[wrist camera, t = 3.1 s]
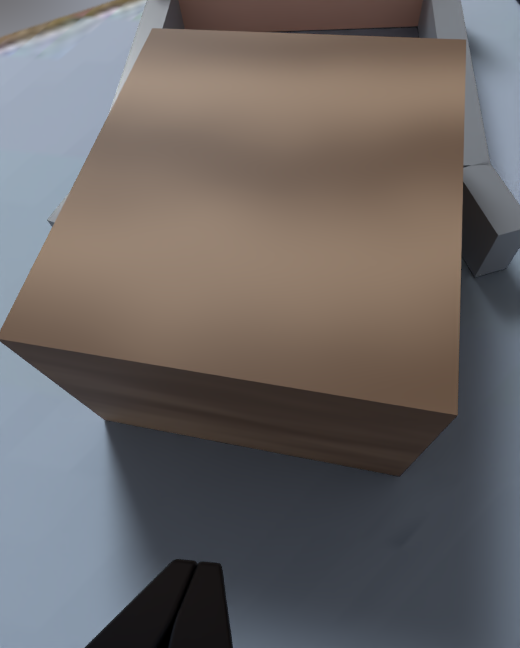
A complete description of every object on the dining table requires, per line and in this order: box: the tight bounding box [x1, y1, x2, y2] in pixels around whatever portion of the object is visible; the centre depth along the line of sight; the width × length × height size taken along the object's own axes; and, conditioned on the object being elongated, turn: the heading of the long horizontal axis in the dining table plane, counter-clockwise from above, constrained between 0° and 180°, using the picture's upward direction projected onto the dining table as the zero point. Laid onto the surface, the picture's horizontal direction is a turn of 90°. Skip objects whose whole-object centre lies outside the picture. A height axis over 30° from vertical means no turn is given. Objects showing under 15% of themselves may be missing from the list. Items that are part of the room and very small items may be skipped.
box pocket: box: [47, 0, 520, 277], centre depth 25 cm, size 20×20×5 cm
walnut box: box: [0, 28, 466, 476], centre depth 19 cm, size 14×12×8 cm
